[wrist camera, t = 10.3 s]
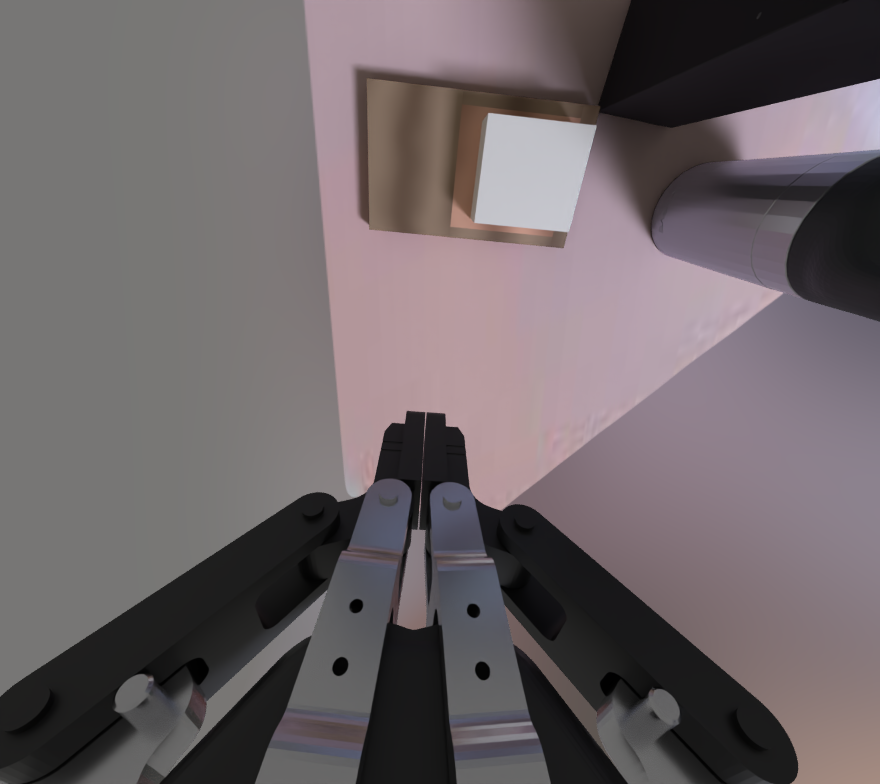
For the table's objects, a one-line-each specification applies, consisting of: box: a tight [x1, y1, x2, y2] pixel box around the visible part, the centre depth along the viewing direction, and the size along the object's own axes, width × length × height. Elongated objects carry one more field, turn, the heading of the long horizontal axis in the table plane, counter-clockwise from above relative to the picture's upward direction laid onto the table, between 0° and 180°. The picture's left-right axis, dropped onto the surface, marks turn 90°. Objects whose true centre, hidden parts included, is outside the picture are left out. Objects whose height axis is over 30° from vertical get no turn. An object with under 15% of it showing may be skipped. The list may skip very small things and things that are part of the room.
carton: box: [470, 113, 597, 232], centre depth 32 cm, size 9×8×4 cm
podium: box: [367, 78, 601, 248], centre depth 34 cm, size 21×12×2 cm, turn 85°
